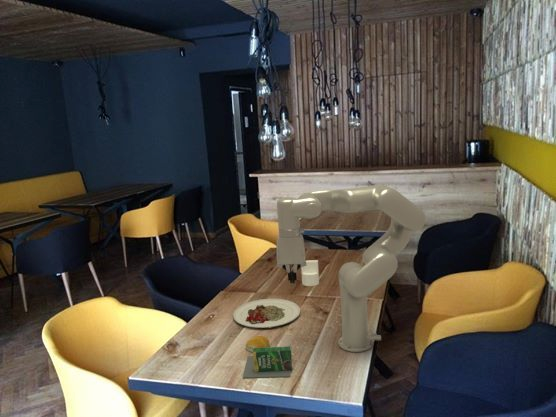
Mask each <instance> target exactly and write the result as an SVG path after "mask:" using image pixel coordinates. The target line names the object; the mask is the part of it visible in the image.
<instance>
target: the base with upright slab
mask: <svg viewBox="0 0 556 417" xmlns="http://www.w3.org/2000/svg"><path fill="white" fill-rule="evenodd" d="M305 260H306V259H305ZM300 270H301V271H300V272H301V285H303V286H306V287H313V286H314V287H315V286H317V285H319V284H320V274H319V273H320V272H319V260H318V259H317V260H316V259H315V260H314V259H312V260H311V259H310V260H306V266H304V267H300Z"/></svg>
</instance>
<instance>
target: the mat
mask: <svg viewBox="0 0 556 417" xmlns="http://www.w3.org/2000/svg"><path fill="white" fill-rule="evenodd" d="M291 371H292V370H284V371H266V372H255V370H254V359H253V355H248V356H247V359H246V362H245V367H244V371H243V374H242V379H243V380H244V379H273V378H274V379H275V378H279V379H280V378H290V377H291Z"/></svg>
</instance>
